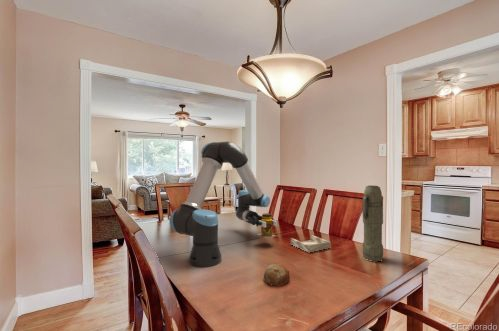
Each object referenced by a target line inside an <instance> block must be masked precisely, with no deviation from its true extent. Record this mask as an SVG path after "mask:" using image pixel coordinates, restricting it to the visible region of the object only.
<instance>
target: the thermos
mask: <svg viewBox="0 0 499 331" xmlns="http://www.w3.org/2000/svg"><path fill="white" fill-rule="evenodd" d="M363 195H364V196H362V201H361V202H362V208H361V209H362V211H361V212H362V222H363V241H362V254H363V255H362V258H363V257H364V258H365V259H368V260H372V261H381V260H383V261H384V258H383V256H384V245H383V236H382V235H383V224H384V197H383V193H382V190H381V187H380V186H379V185H366V186H365V189H364V192H363ZM365 259H364V260H365Z"/></svg>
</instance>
